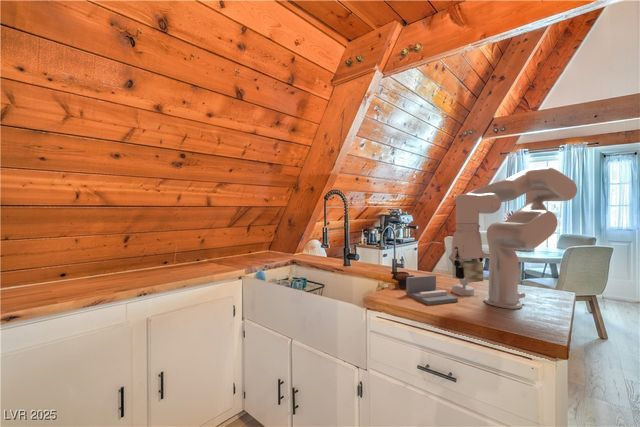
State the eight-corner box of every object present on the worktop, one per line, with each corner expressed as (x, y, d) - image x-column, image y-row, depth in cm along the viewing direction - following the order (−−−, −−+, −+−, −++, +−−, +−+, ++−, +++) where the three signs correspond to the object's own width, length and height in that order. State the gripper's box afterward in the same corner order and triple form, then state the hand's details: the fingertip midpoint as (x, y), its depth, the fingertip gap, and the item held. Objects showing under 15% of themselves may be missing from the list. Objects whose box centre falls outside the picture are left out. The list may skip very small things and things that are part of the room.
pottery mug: (388, 288, 134) (387, 271, 138) (397, 294, 141) (396, 277, 145) (413, 286, 128) (412, 268, 132) (421, 291, 134) (420, 274, 138)
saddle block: (466, 276, 110) (466, 259, 110) (483, 280, 103) (483, 262, 103) (452, 277, 108) (452, 260, 108) (468, 282, 101) (468, 264, 101)
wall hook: (468, 268, 132) (477, 273, 122) (468, 289, 132) (477, 296, 122) (448, 268, 133) (455, 272, 123) (448, 288, 133) (455, 295, 123)
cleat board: (433, 292, 128) (433, 275, 128) (457, 301, 115) (458, 282, 114) (406, 294, 123) (406, 277, 123) (428, 305, 110) (428, 285, 110)
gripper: (477, 226, 111) (477, 272, 112) (440, 228, 106) (440, 277, 107) (494, 227, 104) (494, 277, 105) (456, 229, 99) (456, 282, 99)
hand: (467, 276), depth 106 cm, fingers closed on saddle block, 6 cm apart
